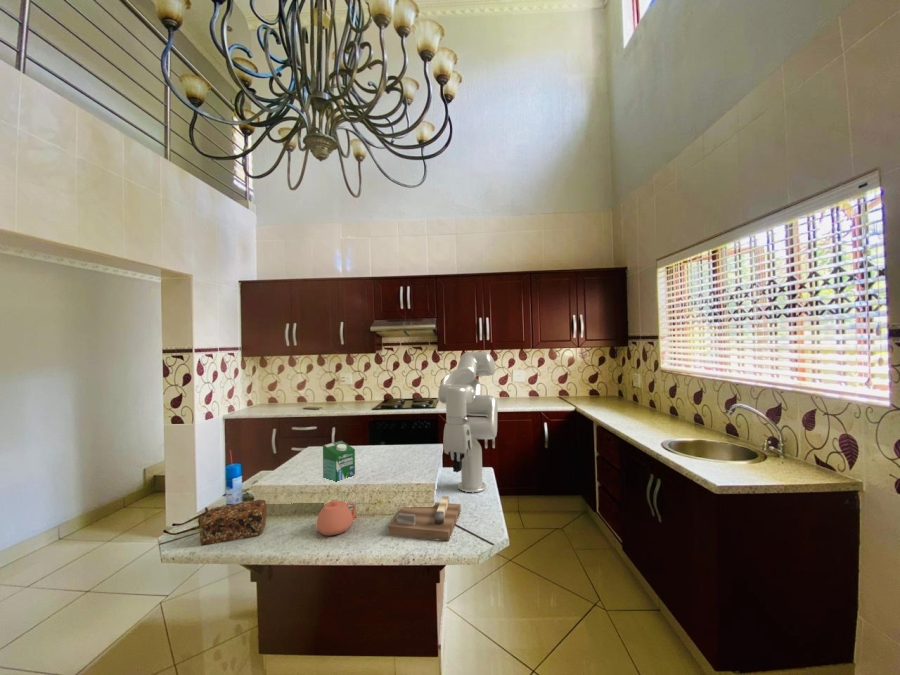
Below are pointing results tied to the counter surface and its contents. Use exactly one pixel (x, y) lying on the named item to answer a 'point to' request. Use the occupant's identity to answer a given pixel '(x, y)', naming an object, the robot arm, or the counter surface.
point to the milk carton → (338, 461)
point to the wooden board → (424, 522)
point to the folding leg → (441, 510)
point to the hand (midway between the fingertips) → (457, 470)
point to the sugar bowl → (335, 517)
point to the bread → (233, 522)
